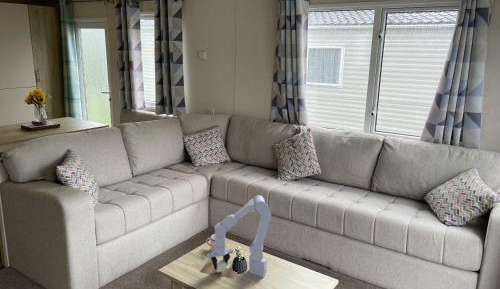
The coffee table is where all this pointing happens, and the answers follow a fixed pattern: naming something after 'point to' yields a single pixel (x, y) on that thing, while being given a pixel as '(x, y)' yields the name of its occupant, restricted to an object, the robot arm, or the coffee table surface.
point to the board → (212, 271)
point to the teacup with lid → (212, 242)
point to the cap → (221, 265)
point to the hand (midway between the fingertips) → (220, 267)
